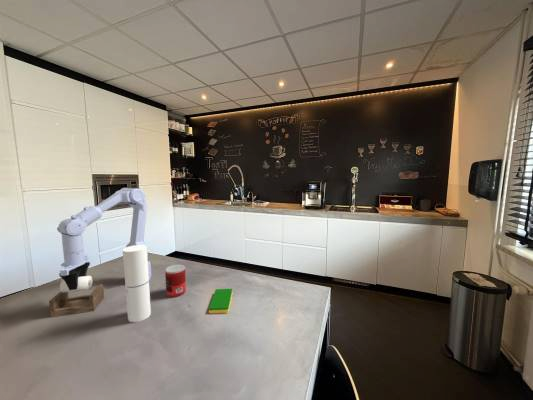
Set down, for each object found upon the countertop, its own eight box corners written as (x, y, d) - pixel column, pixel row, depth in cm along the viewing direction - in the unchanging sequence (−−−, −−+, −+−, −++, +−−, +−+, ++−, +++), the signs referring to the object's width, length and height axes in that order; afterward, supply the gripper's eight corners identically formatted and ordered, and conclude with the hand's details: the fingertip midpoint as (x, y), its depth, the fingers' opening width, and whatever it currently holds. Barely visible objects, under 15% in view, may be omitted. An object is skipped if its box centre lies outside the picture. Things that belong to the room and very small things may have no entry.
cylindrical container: (140, 323, 75) (135, 252, 72) (122, 320, 76) (117, 250, 73) (155, 310, 82) (151, 245, 79) (138, 308, 83) (134, 244, 80)
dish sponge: (209, 314, 80) (208, 308, 80) (215, 294, 94) (215, 288, 94) (228, 314, 81) (228, 307, 80) (232, 293, 94) (232, 288, 94)
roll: (93, 285, 87) (91, 273, 87) (86, 292, 82) (85, 279, 82) (68, 288, 85) (66, 276, 84) (60, 295, 80) (58, 282, 80)
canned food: (189, 288, 98) (188, 264, 97) (180, 298, 90) (179, 272, 89) (172, 287, 99) (171, 263, 98) (162, 297, 91) (161, 271, 90)
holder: (104, 297, 91) (102, 283, 90) (94, 310, 82) (92, 295, 81) (65, 303, 87) (64, 288, 86) (50, 317, 78) (49, 301, 78)
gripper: (71, 246, 88) (75, 278, 89) (47, 259, 74) (52, 297, 75) (92, 244, 90) (95, 276, 91) (72, 257, 76) (76, 294, 77)
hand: (77, 285), depth 84 cm, fingers closed on roll, 5 cm apart
